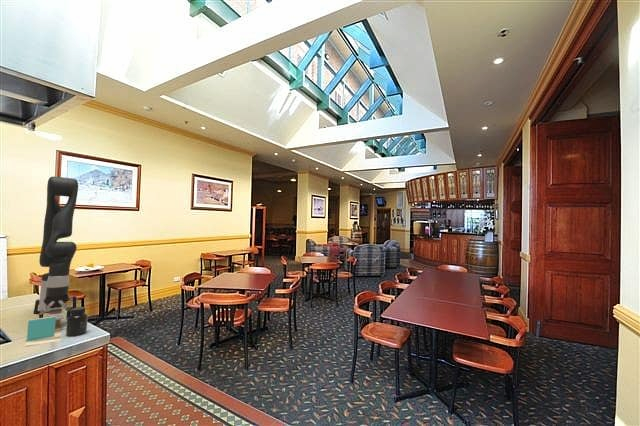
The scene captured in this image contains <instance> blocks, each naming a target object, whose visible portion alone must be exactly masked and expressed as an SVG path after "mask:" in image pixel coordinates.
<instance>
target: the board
mask: <svg viewBox="0 0 640 426" xmlns="http://www.w3.org/2000/svg"><path fill="white" fill-rule="evenodd" d="M61 333H62V332H61V325H60V326H59V327H55V332H54V336H53V337H48V338H42V339H36V340H30V341H27V340H26V342H25V348H29V347H33V346H38V345H43V344H45V345H46V344H49V343H54V342H55V343H56V342H61V341H62V336H61Z"/></svg>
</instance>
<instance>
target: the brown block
mask: <svg viewBox="0 0 640 426" xmlns="http://www.w3.org/2000/svg"><path fill="white" fill-rule="evenodd" d="M53 316H56V321H55V327H59V326H60V327H61V323H62V322H61V321H62V320H64V313H63V308H62V309H55V310H50V313H48V314H47V317H53Z"/></svg>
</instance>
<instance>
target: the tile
mask: <svg viewBox="0 0 640 426" xmlns="http://www.w3.org/2000/svg"><path fill="white" fill-rule="evenodd" d="M55 321H56V316H53V317H48V316H45V317H43V318H39V317H38V318H33V319H32V318H31V319H28V324H27V325H28V326H27V332H26V333H27V334H26V335H27V336H26V342H27V341H30V340H36V339H42V338H48V337H53V336H54V332H55Z"/></svg>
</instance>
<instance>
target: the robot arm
mask: <svg viewBox="0 0 640 426" xmlns="http://www.w3.org/2000/svg"><path fill="white" fill-rule="evenodd" d="M78 192H79V182H78V179H76V178H73V177H72V178H70V177H62V176H50V177H49V178H48V181H47V185H46V208H45V209H46V210H45V215H44V222H43V223H44V224H43V234H42V235H43V236H42V237H43V238H42V243H41V244H42V245H41V249H40V254H39V265H40V267H42V268H48V272H47V273H46V272H45V273H44V274H42V275H41V281H40V282H41V283H40V293H39V299H38V298H37V299H36V300H35V302H34V303H35V304H34V309H33V315H38V318H44V314H45V315H46V314H49V313H50V310H55V309H62V310H63V308H64V309H65V310H66V317H65V318H66V321H67V318H68V317H69V316H70V315H71V314H70V313H71V309H73V308H77V296H76V295H73V296H69V289H70V288H69V287H70V269H71V268H70V267H71V264H72V261H73V257H74V256H75V254H76V251H77V244H76V243H75V242H73V241H59V240H61V239H64V238H66V239H67V238H69V237H71V236H73V235H72V234H73V223H74V222H73V219H74V213H75V209H76V206H77V205H76V204H77V199H78ZM57 197H67V198H68V200H67V201H66V204H65V205H63V207H62V206H61V205H60V204H59V201H58V200H57ZM69 300H70V301H71V302H72V306H70V305H68V303H67V302H68V301H69Z"/></svg>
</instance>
